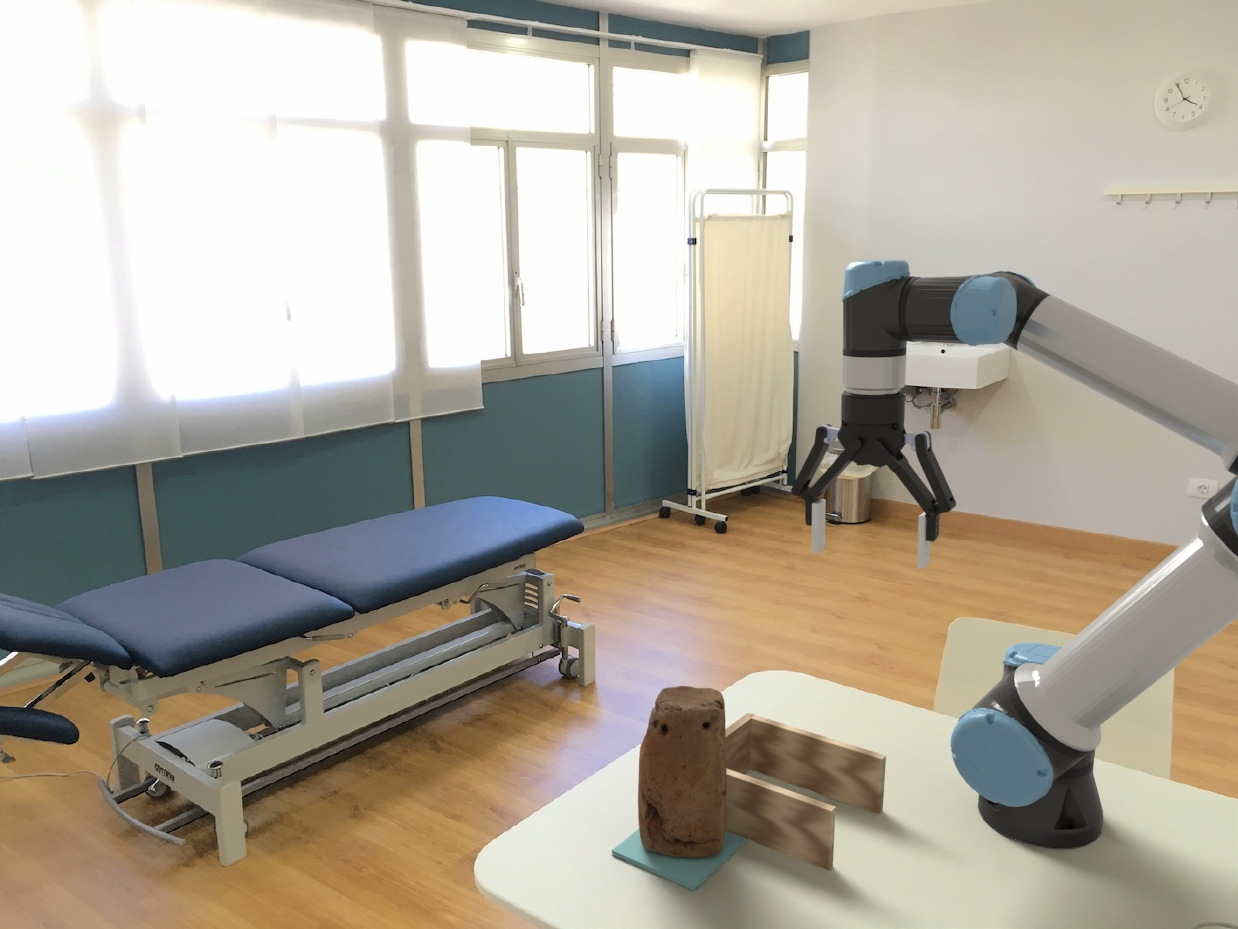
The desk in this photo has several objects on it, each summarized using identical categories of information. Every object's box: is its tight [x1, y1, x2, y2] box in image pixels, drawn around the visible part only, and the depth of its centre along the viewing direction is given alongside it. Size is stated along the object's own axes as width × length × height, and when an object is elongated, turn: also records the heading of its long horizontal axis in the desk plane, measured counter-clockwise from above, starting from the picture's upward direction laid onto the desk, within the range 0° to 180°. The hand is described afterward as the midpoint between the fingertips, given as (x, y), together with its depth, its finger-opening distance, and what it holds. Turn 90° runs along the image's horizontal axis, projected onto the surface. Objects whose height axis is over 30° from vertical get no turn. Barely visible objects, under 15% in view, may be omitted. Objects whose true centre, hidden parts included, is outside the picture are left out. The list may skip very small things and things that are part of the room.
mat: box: [611, 828, 746, 891], centre depth 129 cm, size 12×12×1 cm
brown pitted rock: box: [637, 685, 727, 858], centre depth 126 cm, size 11×8×20 cm
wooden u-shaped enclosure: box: [725, 712, 887, 872], centre depth 136 cm, size 21×16×8 cm
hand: (869, 558), depth 130 cm, fingers open, 13 cm apart
